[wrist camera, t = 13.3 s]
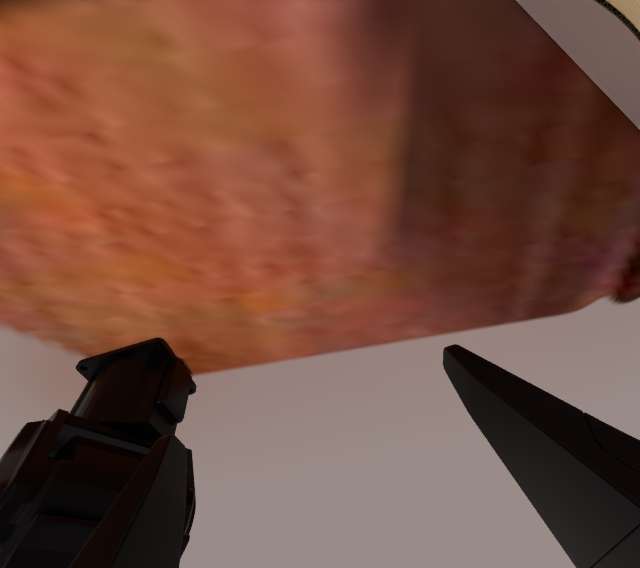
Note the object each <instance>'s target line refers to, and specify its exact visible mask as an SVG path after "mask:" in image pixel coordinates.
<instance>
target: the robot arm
mask: <svg viewBox="0 0 640 568" xmlns="http://www.w3.org/2000/svg"><path fill="white" fill-rule="evenodd" d="M156 344H159V345H156ZM443 366H444V369H445V371H446V373H447V375H448V377H449V379H450V381H451V382H452V384H453V386H454V388H455V390H456V391H457V393H458V395H459V397H460V398H461V400H462V402H463V404H464V406H465V407H466V409H467V411H468V412H469V414H470V416H471V417H472V419H473V420H474V422H475V423H476V425H477V426H478V427H479V429H480V430H481V432H482V433H483V435H484V436H485V437H486V439H487V440H488V442H489V443H490V445H491V446H492V447H493V449H494V450H495V452H496V453H497V455H498V456H499V458H500V459H501V460H502V462H503V463H504V465H505V466H506V467H507V469H508V470H509V472H510V473H511V475H512V476H513V478H514V479H515V480H516V482H517V483H518V485H519V486H520V488H521V489H522V491H523V492H524V493H525V495H526V496H527V498H528V499H529V501H530V502H531V503H532V505H533V506H534V508H535V509H536V510H537V512H538V513H539V515H540V516H541V518H542V519H543V521H544V522H545V524H546V525H547V526H548V528H549V529H550V531H551V532H552V534H553V535H554V536H555V538H556V539H557V541H558V542H559V543H560V545H561V546H562V548H563V549H564V551H565V552H566V554H567V555H568V556H569V558H570V559H571V561H572V562H573V563H574V565H575V566H576V568H640V440H638V439H636V438H634V437H632V436H630V435H628V434H626V433H624V432H622V431H620V430H618V429H616V428H614V427H612V426H610V425H608V424H606V423H604V422H602V421H600V420H599V419H597V418H595V417H593V416H591V415H589V414H587V413H583V412H582V411H581V410H579V409H577V408H576V407H574V406H572V405H570V404H568V403H566V402H564V401H563V400H561V399H559V398H557V397H555V396H553V395H551V394H549V393H548V392H545V391H544V390H542V389H540V388H538V387H536V386H534V385H532V384H531V383H528V382H527V381H525V380H523V379H521V378H519V377H517V376H516V375H513V374H512V373H510V372H508V371H506V370H504V369H502V368H501V367H499V366H497V365H495V364H493V363H491V362H489V361H487V360H485V359H484V358H482V357H480V356H478V355H476V354H474V353H472V352H470V351H469V350H467V349H465V348H463V347H461V346H459V345H451V346H448V347H445V348H444V351H443ZM76 369H77V371H78V372H79V373H80V374H82V375H83V376H84V377H85V378H86V379H87V380H88V383H87V385H86V386H85V388H84V390H83V392H82V393H81V395H80V397H79V398H78V400H77V402H76V403H75V405H74V407H73V408H72V410H71V412H70V413H69V412H68V411H64V410H61V409H58V410H57V411H56V412H55V413H54V414H53V415H52V416H51V418H50V419H48V420H42V421H37V422H29V423H27V424H26V425H25V426H24V427H23V428H22V429H21V431H20V432H19V433H18V435H17V436H16V437H15V439H14V440H13V442H12V443H11V444H10V446H9V447H8V449H7V450H6V452H5V453H4V454H3V456H2V457H1V459H0V568H179V562H180V558H181V556H182V554H183V552H184V550H185V548H186V546H187V544H188V542H189V538H190V535H189V533H190V530H191V527H192V523H193V519H194V514H195V507H196V505H195V504H196V502H195V487H194V475H193V461H192V451H191V450H190V449H187V448H185V446H184V445H183V444H182V443H181V442H180V440H179V439H178V438H177V437H176V436H175V430H176V426H177V423H180V422H182V420H183V418H184V414H185V409H186V404H187V400H188V395H191V394H193V393H195V392H196V384H195V383H194V381H193V380H192V377H191V375H190V374H189V372H188V371H187V369H186V368H185V367H184V365H183V364H182V362H181V361H180V360H179V359H178V358H177V357H176V356H175V355H174V353H173V352H172V351H171V349H170V348H169V346H168V345H167V344H166V342H165V341H164V340H163V339H161V338H154V339H150V340H147V341H144V342H140V343H137V344H134V345H130V346H127V347H123V348H120V349H117V350H113V351H110V352H107V353H103V354H100V355H96V356H93V357H90V358H86V359H83V360H81V361H79V363H78V364H77V366H76ZM68 413H69V414H68Z"/></svg>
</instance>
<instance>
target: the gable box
mask: <svg viewBox="0 0 640 568" xmlns="http://www.w3.org/2000/svg"><path fill="white" fill-rule="evenodd" d="M516 1H517V2H518V3H519V4H520V5H521V6H522V7H523V9H524V10H525V11H526V12H527V13H528V14H529V15H530V16H531V17H532V18H533V19H534V20H535V21H536V22H537V23H538V24H539V25H540V26H541V27H542V28H543V29H544V30H545V32H546V33H547V34H548V35H549V36H550V37H551V38H552V39H553V40H554V41H555V42H556V43H557V44H558V45H559V46H560V47H561V48H562V49H563V50H564V51H565V52H566V53H567V54H568V56H569V57H570V58H571V59H572V60H573V61H574V62H575V63H576V64H577V65H578V66H579V67H580V68H581V69H582V70H583V71H584V72H585V73H586V74H587V75H588V76H589V77H590V78H591V80H592V81H593V82H594V83H595V84H596V85H597V86H598V87H599V88H600V89H601V90H602V91H603V92H604V93H605V94H606V95H607V96H608V97H609V98H610V99H611V100H612V101H613V102H614V104H615V105H616V106H617V107H618V108H619V109H620V110H621V111H622V112H623V113H624V114H625V115H626V116H627V117H628V118H629V119H630V120H631V121H632V122H633V123H634V124H635V125H636V126H637V128H638V129H639V130H640V0H516Z"/></svg>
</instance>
